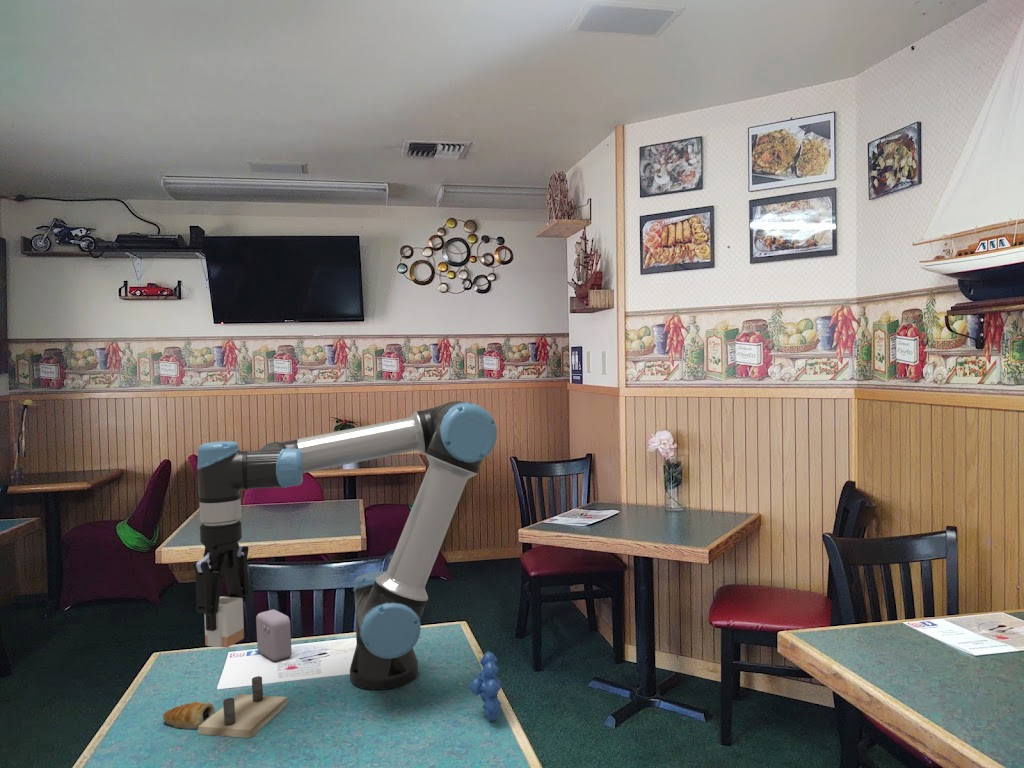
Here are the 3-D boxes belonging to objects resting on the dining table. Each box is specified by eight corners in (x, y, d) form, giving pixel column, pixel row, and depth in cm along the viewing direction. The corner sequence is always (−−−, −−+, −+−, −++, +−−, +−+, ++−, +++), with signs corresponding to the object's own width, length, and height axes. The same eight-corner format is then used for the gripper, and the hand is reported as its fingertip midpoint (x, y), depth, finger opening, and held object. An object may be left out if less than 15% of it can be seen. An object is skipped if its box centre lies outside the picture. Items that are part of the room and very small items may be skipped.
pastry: (155, 729, 146) (154, 710, 146) (175, 713, 152) (175, 695, 152) (200, 731, 144) (199, 711, 144) (218, 715, 151) (217, 696, 151)
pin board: (287, 704, 154) (286, 675, 154) (250, 738, 140) (248, 706, 140) (239, 701, 156) (238, 672, 156) (198, 734, 143) (196, 703, 142)
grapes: (467, 703, 151) (465, 645, 151) (500, 700, 152) (498, 642, 152) (471, 731, 140) (468, 668, 139) (506, 727, 140) (504, 665, 140)
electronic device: (255, 653, 183) (253, 612, 183) (273, 647, 186) (271, 608, 186) (273, 664, 176) (271, 622, 175) (291, 658, 179) (289, 617, 178)
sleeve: (222, 636, 148) (221, 596, 148) (244, 638, 146) (242, 598, 146) (205, 645, 143) (203, 604, 143) (227, 647, 142) (225, 605, 141)
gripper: (234, 511, 154) (238, 623, 154) (170, 531, 137) (175, 656, 137) (265, 513, 152) (269, 626, 152) (205, 532, 134) (209, 660, 135)
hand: (225, 640), depth 145 cm, fingers closed on sleeve, 5 cm apart
